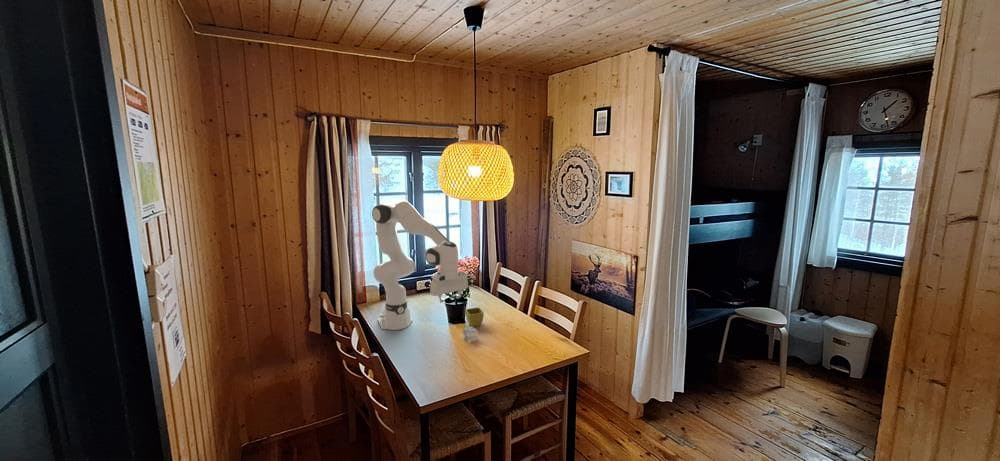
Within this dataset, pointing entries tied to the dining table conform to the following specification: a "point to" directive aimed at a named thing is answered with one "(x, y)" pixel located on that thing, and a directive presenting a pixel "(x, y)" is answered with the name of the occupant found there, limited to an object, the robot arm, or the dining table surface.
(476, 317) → the flower pot
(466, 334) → the letter cube
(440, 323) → the dining table surface
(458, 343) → the dining table surface
